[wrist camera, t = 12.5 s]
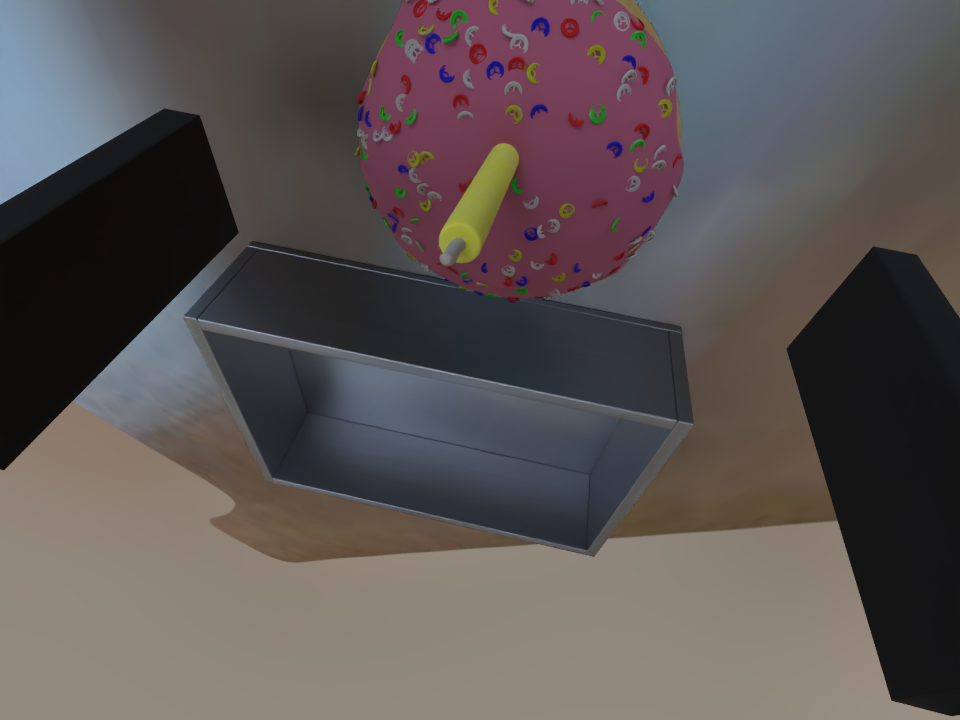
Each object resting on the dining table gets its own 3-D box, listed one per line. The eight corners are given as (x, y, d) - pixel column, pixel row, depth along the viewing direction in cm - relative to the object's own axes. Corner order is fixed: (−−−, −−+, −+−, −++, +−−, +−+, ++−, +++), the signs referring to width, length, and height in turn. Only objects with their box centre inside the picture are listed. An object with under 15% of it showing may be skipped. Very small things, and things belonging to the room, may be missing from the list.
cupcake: (393, -78, 13) (49, 46, 5) (716, -70, 12) (912, 105, 4) (420, 207, 19) (285, 461, 11) (634, 229, 18) (648, 528, 10)
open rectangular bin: (681, 326, 21) (694, 425, 18) (596, 475, 32) (594, 557, 28) (251, 240, 23) (181, 316, 19) (303, 410, 33) (264, 481, 29)
